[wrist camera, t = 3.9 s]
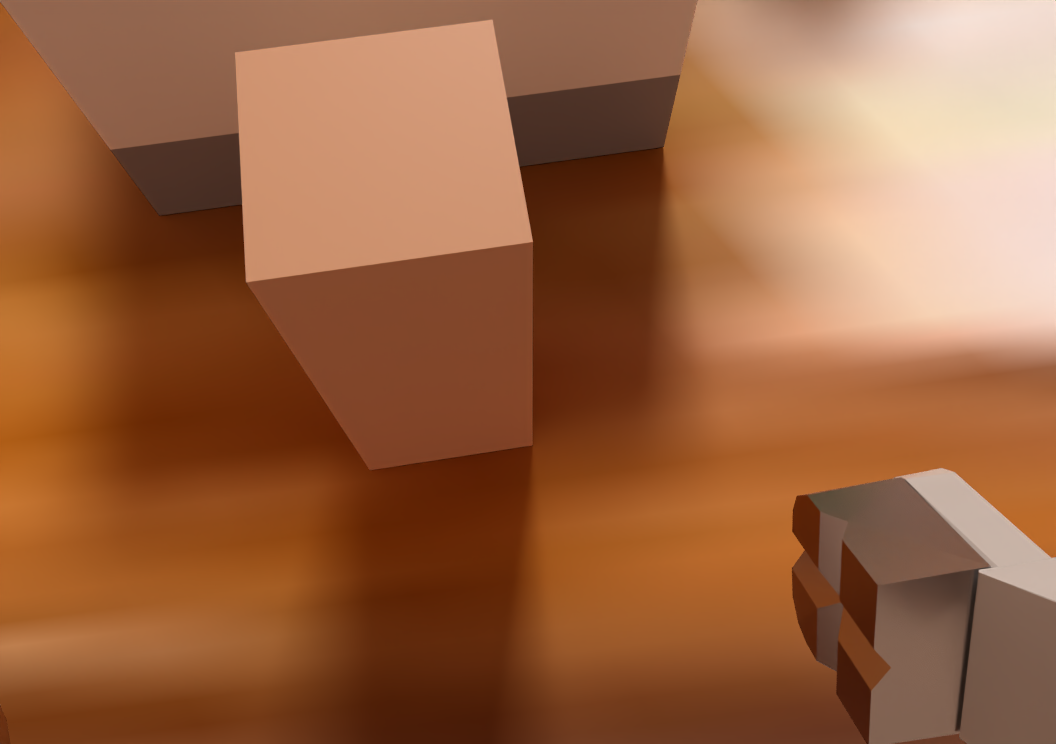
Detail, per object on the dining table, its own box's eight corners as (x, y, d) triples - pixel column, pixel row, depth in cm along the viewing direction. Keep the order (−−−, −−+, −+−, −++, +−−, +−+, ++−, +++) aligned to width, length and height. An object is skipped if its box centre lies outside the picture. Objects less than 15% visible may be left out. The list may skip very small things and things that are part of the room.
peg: (508, 300, 23) (492, 20, 14) (532, 445, 22) (532, 242, 12) (355, 322, 23) (234, 52, 14) (369, 470, 22) (245, 281, 12)
